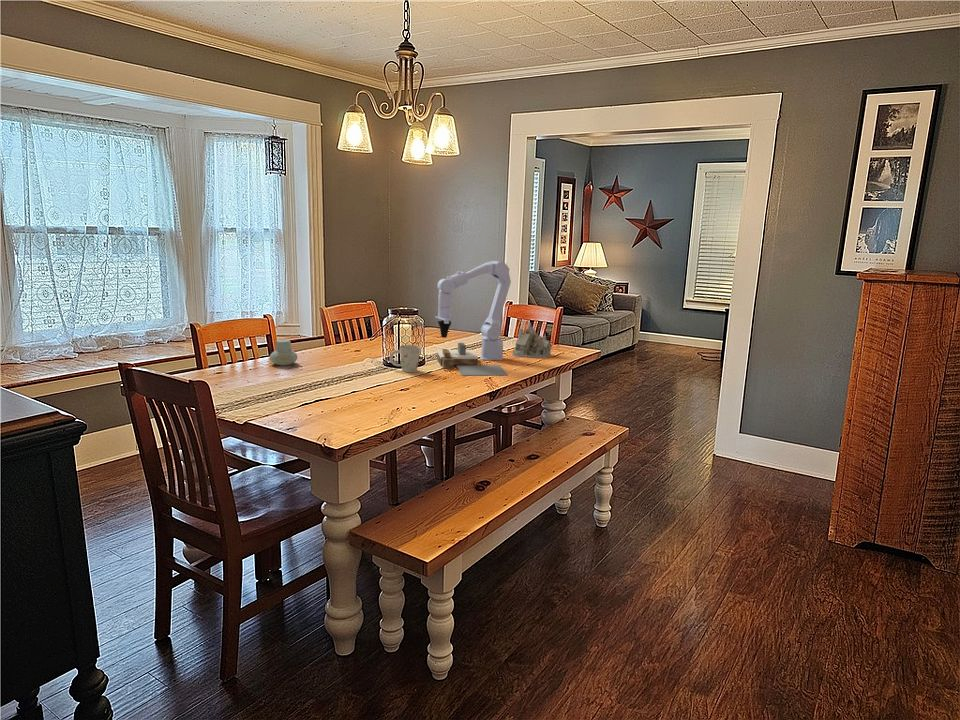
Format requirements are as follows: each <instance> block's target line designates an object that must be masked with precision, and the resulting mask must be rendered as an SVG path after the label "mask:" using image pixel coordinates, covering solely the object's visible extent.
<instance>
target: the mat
mask: <svg viewBox="0 0 960 720" xmlns="http://www.w3.org/2000/svg"><path fill="white" fill-rule="evenodd" d="M455 367H456V368H457V370H458V371H459V373H460V375H461V376H463V377H465V376H468V377H469V376H473V377H474V376H475V377H476V376H477V377H478V376H481V377H482V376H509V374H508V372H506V370H504V369H503V367H502V366H501V365H500V364H498V365H497V364H486V365H485V364H483V365H481V364H478V365H456V366H455Z"/></svg>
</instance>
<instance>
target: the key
mask: <svg viewBox="0 0 960 720" xmlns="http://www.w3.org/2000/svg"><path fill="white" fill-rule="evenodd" d="M441 350H442V354H443V356H444V357H445V358H448V357H450V352H449V350H450V349H448V348H442V349H441Z"/></svg>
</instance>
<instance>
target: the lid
mask: <svg viewBox="0 0 960 720" xmlns="http://www.w3.org/2000/svg"><path fill="white" fill-rule="evenodd" d="M448 350H449V352H450V357H452V358H453V359H478V360H479V355H477V354H476V352H475V351H474V350H473V349H467V346H466V344H465V343H464V342H458V343H457V349H448ZM437 353H438V355H439V356H440V358H441V359H442V357H444V356H443V354H442V349H437V350H436V354H437Z"/></svg>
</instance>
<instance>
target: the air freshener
mask: <svg viewBox="0 0 960 720" xmlns="http://www.w3.org/2000/svg"><path fill="white" fill-rule="evenodd" d="M291 344H292V342H291V340H289V339H277V340H275V350H274V351H272V352H271V354H269V360H270V362H271V363H273V364H275V365H277V366H280V367H281V366H282V367H288V366H290V365H292V364H295V363H296V361H297V360H298V355H297V353H296V351H294V350H292V345H291Z"/></svg>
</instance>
